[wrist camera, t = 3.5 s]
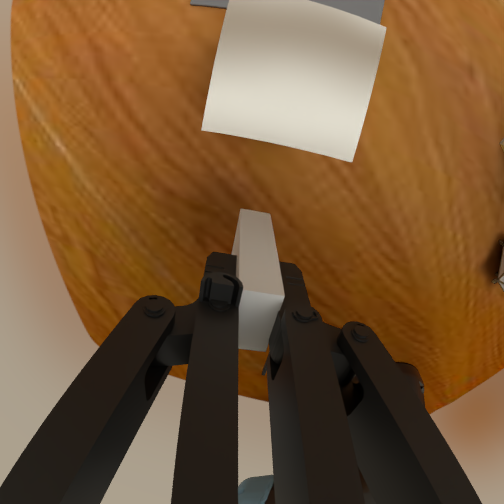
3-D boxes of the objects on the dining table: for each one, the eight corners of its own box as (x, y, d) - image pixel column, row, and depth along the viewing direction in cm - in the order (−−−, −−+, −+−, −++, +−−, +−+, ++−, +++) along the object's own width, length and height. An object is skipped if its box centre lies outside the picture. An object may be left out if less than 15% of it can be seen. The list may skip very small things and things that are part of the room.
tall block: (301, 124, 22) (351, 162, 12) (223, 108, 21) (201, 130, 11) (319, 52, 19) (386, 27, 9) (238, 34, 18) (233, -15, 8)
